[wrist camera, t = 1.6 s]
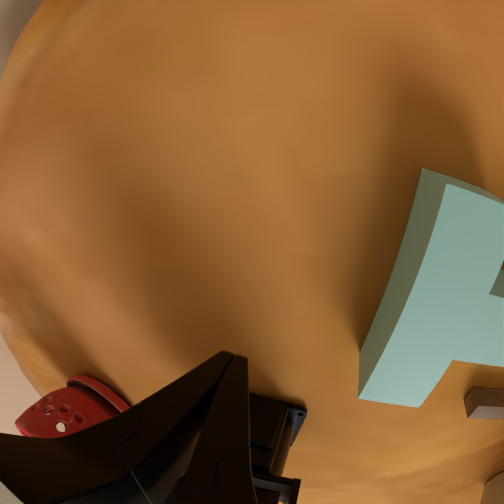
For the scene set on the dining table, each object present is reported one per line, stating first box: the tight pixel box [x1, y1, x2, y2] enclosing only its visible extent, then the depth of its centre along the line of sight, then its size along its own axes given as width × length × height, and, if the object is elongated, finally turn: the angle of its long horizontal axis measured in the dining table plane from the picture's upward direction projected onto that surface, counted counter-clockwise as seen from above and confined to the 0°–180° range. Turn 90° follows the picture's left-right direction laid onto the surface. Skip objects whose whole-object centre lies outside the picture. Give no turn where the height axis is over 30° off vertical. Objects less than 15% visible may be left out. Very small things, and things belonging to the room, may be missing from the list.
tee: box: [358, 168, 504, 407], centre depth 13 cm, size 12×12×4 cm
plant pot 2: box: [15, 375, 130, 438], centre depth 27 cm, size 13×13×12 cm
